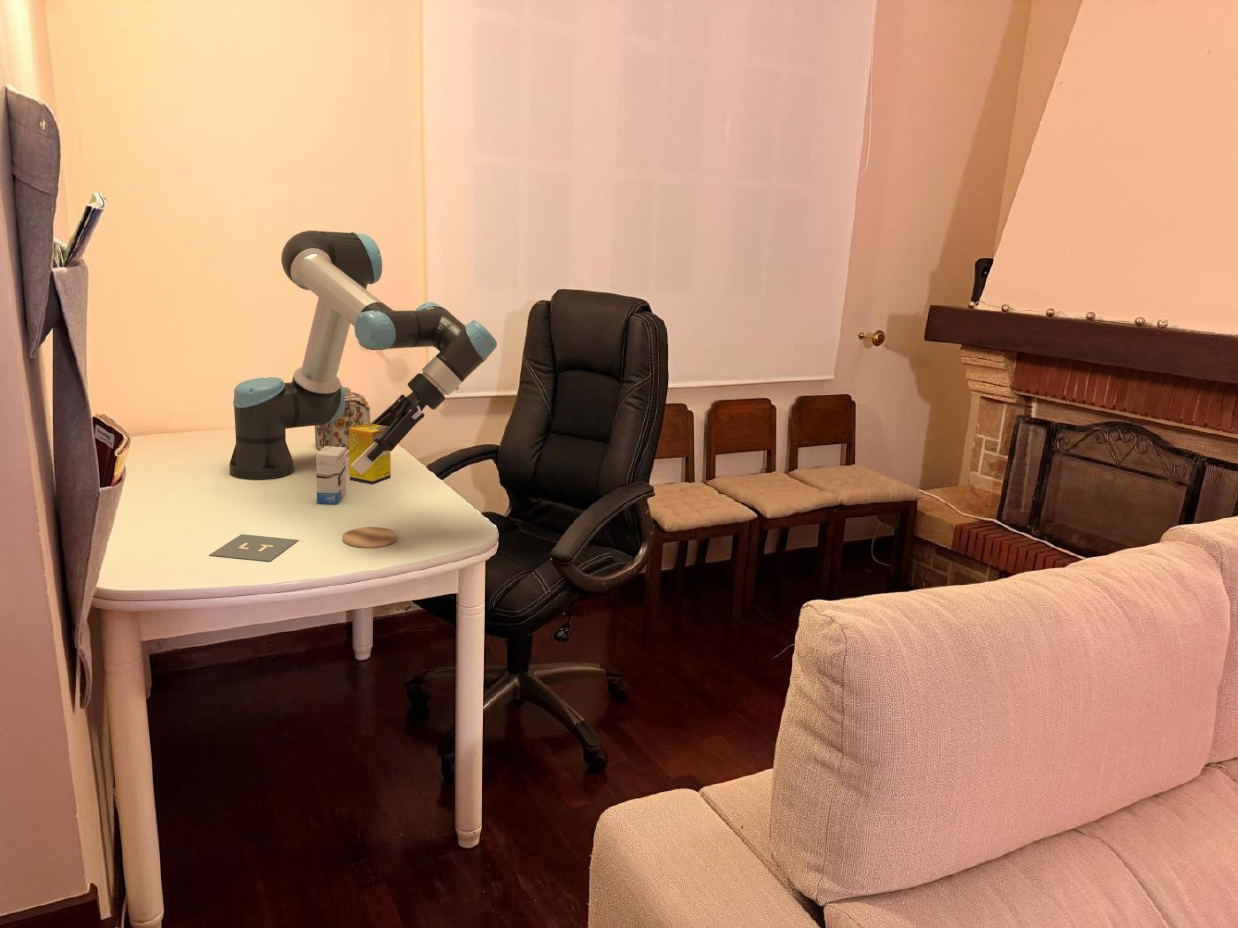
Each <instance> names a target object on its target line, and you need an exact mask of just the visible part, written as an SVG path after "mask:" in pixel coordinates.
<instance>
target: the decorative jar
mask: <svg viewBox="0 0 1238 928" xmlns="http://www.w3.org/2000/svg"><path fill="white" fill-rule="evenodd" d="M343 388H344V391H345V397H344V399H345V400H346V403H345V408H344V411H343V413H342V415H341V417H340V418H339V419H338V420H337V421H335V422H333V423H328V424H325V425H315V426H314V444H315V445H314V446H315V448H316V449H317V450H319V451H320V450H321V449H322V448H324V447H325V446H333V447H345V453H346V452H347V451H348V450H349V428H351V427H355V426H359V425H363V424H367V423H371V407H370V405H369V403H368V401H367V400H366V397H365V395H362V394H360V393H357V392H352V391H351V387H348V386H343Z"/></svg>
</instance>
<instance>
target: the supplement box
mask: <svg viewBox="0 0 1238 928" xmlns="http://www.w3.org/2000/svg"><path fill="white" fill-rule="evenodd" d="M370 423H371V422H370ZM370 423H367V424H363V425H359V426H355V427H351V428H349V458H348V459H349V481H351V482H356V483H361V484H366V485H372V486H373V485H376V484H378V483H381V482H384V481H387V480H389V479H391V470H392V469H391V468H392V467H391V466H392V465H391V460H392V459H391V451H389V450H388V451H385V452H384V453H383V454H382V455H381V456H380V457H379V458H378V459H377V460H376V461H375V462H374V463H373V464H372V465H371V466H370V467H369V468H368V469H367V470H366V471H365V472H364V473H363V474H362V475H361V474H360V473H359V472H357V471H356V470H355V469H354V468H353V467H352V466H351V465H352V464H353V463H354V462H355V461H356V460H357V459H358V458H359V457H360V456H361V455H362V454H363V453H364V452H365V451H366V450H367V449H368V448H369V447H370V446H371V445H372V444H373V443H374V442H375V441H374V439H377V438H378V439H380V438H381V436H382V435H383V434H384V433H385V431H386V430H387V429H388V428H389V427H388V426H382V425H376V424H370Z"/></svg>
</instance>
